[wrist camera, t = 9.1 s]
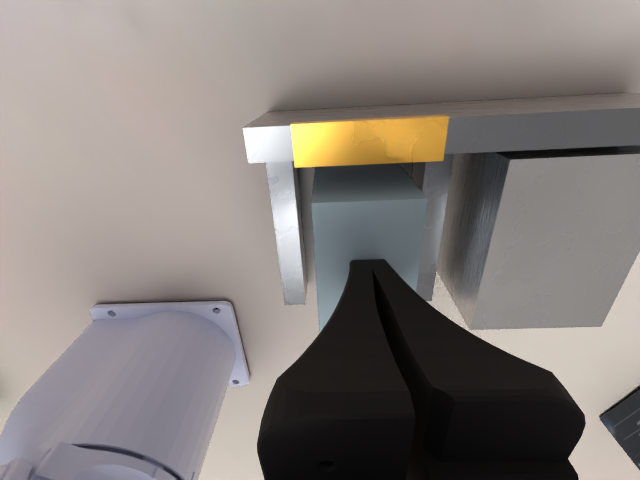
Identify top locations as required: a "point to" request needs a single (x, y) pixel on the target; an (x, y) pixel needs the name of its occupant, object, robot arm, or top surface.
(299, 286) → the rack bay
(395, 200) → the pale blue tall block
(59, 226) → the top surface
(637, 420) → the box
